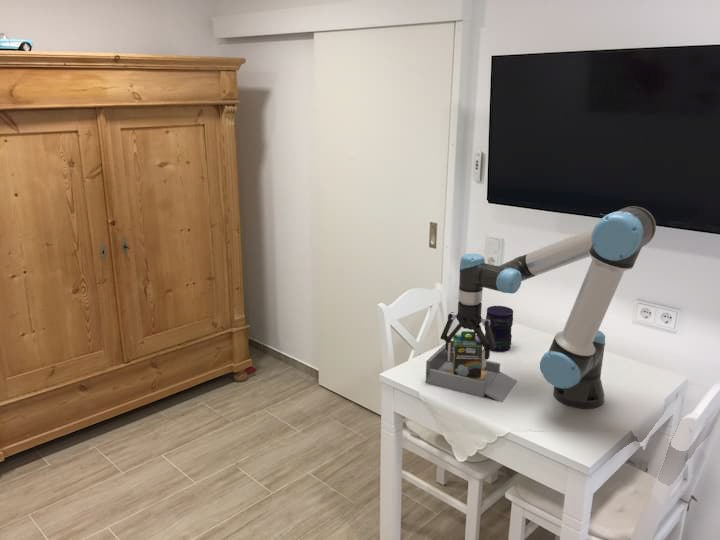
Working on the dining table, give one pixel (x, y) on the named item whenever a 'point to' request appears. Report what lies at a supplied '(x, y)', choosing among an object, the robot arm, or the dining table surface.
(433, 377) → the dock bay
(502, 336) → the storage jar
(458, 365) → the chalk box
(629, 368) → the dining table surface
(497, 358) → the dining table surface
